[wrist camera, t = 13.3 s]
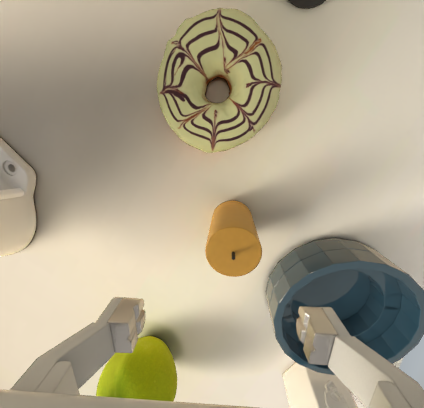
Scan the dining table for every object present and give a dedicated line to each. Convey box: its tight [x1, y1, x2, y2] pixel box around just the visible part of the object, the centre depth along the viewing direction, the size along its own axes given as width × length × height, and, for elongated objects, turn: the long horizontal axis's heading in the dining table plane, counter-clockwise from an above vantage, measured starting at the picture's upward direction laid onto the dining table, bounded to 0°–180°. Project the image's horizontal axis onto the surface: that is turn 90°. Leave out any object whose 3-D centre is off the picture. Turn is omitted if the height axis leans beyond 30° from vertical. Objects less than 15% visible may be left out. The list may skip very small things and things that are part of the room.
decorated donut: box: [157, 8, 282, 153], centre depth 18 cm, size 10×11×4 cm
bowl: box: [266, 238, 424, 376], centre depth 23 cm, size 15×15×5 cm
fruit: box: [96, 336, 177, 402], centre depth 26 cm, size 9×9×10 cm
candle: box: [205, 201, 262, 276], centre depth 20 cm, size 5×5×8 cm
